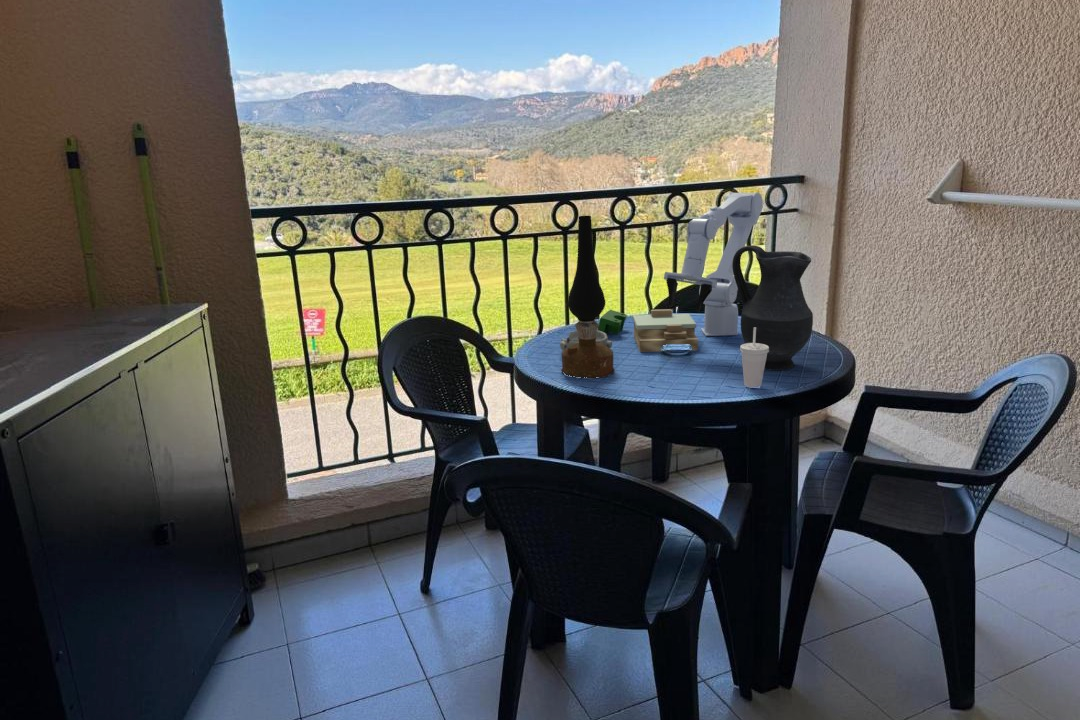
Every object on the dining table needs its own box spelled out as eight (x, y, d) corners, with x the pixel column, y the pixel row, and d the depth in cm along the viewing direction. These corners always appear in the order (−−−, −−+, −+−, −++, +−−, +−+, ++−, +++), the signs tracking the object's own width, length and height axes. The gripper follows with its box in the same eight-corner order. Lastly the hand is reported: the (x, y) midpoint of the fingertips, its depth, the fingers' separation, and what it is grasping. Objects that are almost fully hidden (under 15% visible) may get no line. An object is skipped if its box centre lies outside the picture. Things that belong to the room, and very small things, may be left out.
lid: (688, 322, 203) (688, 307, 202) (696, 334, 190) (697, 318, 188) (632, 324, 204) (632, 309, 203) (637, 336, 190) (637, 320, 189)
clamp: (613, 348, 208) (617, 326, 202) (595, 343, 210) (598, 320, 204) (626, 326, 216) (629, 303, 210) (608, 320, 218) (611, 298, 212)
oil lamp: (618, 378, 178) (643, 225, 171) (603, 386, 164) (629, 220, 157) (569, 367, 183) (592, 218, 176) (550, 375, 169) (573, 213, 162)
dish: (560, 359, 185) (559, 342, 183) (560, 346, 198) (559, 329, 197) (613, 358, 184) (613, 340, 183) (609, 344, 197) (609, 328, 196)
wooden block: (685, 336, 190) (685, 331, 189) (686, 338, 187) (686, 333, 187) (663, 336, 190) (663, 331, 189) (664, 338, 188) (665, 334, 187)
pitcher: (790, 380, 161) (800, 254, 152) (713, 364, 175) (717, 248, 166) (820, 362, 172) (830, 245, 164) (745, 349, 186) (751, 240, 178)
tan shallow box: (687, 334, 204) (687, 318, 202) (697, 350, 188) (698, 332, 186) (633, 336, 205) (634, 320, 203) (639, 351, 188) (639, 334, 187)
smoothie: (761, 381, 161) (764, 324, 157) (771, 390, 155) (774, 331, 151) (734, 382, 161) (737, 325, 157) (743, 391, 155) (746, 332, 150)
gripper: (666, 254, 187) (655, 301, 187) (719, 261, 181) (708, 311, 181) (671, 259, 193) (660, 305, 193) (722, 267, 188) (711, 314, 188)
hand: (683, 308), depth 188 cm, fingers open, 7 cm apart
